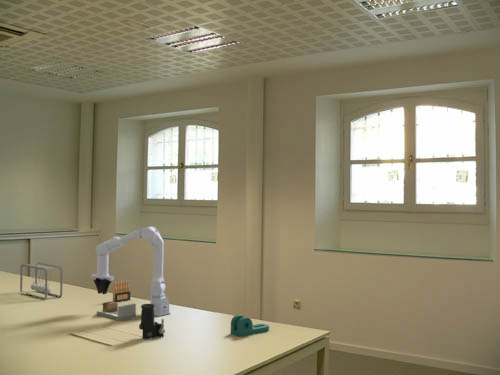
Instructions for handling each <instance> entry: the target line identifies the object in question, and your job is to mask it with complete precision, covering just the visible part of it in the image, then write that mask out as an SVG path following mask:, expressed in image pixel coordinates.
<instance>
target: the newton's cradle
mask: <svg viewBox="0 0 500 375" xmlns="http://www.w3.org/2000/svg"><path fill="white" fill-rule="evenodd" d="M23 267H26V268H31V270H30V271H31V272H33V271H32V270H33V269H34V276H35V279H34V281H32V284H31V285H30V289H31V291H36V292H37V291H39V292H38V293H40V292H43V293H42V294H44V293H45V294H44V297H42V296H39V295H36V294H32V293H26V294H29V295H32V296H35V297H34V298H36V297H38V298H37V299H39V298H41V299H40V300H43V299H46V300H48V299H54V298H55V299H56V298H62V296H63V276H64V275H63V274H64V270H63V268H62V267H61V266H59V265H58V266H57V265H54V264H48V263H42V262H36V263H34V265H33V263H27V264H24V263H22V264H21V265H20V271H19V272H20V281H19V284H20V285H19V286H20V288H19V292H20V293H21V292H23V293H24V292H25V291H23V270H24V269H23ZM48 269H49V270H50V272H52V270H54V269H60V280H59V281H60V289H59V293H60V294H59V295H58V294H56V293H52V288H51V287H50V284H48V282H50V280H51V279H49V281H48V273H49V271H48ZM39 270H40V273H39ZM42 271H43V274H42ZM40 274H42V277H41V278H40ZM44 276H45V277H44ZM51 276H52V273H50V276H49V277H51ZM31 277H32V278H33V274H31ZM44 278H45V280H44ZM40 279H41V280H40ZM40 282H42V284H40ZM44 282H45V283H44ZM48 294H50V295H49V296H51V297H48ZM52 295H53V296H52ZM32 296H31V297H32ZM56 296H57V297H56Z"/></svg>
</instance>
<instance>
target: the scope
mask: <svg viewBox="0 0 500 375" xmlns="http://www.w3.org/2000/svg"><path fill="white" fill-rule="evenodd" d="M140 308H141V312H140V314H141V315H140V324H139V325H138V329H139V330H141V331H142V337H141V338H142V340H151V338H152V339H154V337H155V338H164V336H165V335H164V334H165V332H166V331H165V330H166V329H164V327H165V324H164V323H165V319H164V318H161V323H158V322H157V321H155V315H154V309H153V308H154V304H150V303H144V304H141V305H140ZM161 336H162V337H161Z"/></svg>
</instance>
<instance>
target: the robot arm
mask: <svg viewBox="0 0 500 375" xmlns="http://www.w3.org/2000/svg"><path fill="white" fill-rule="evenodd" d="M136 238H137V239H143V240H145V241H146V242H148V243H150V245H152V247H153V262H152V265H153V266H152V279H151V286H150V287H149V293H150V295H149V296H150V302H149V304H154V308H153V309H154V316H156V317H161V316H165V315H170V314H171V312H170V299H169V298H168V297H166V294H165V291H166V289H167V287H166V284H165V278H164V255H165V254H164V251H165V249H164V248H165V246H164V245H165V242H164V239H163V237H162V235H161V234H160V231H159V230H158V229H157V228H156V227H155V226H148V227H147V226H146V227H143V228H139V229H136V230H134V231H131V232H129V233H128V234H125V235H124V236H121V237H120V236H112V238H111V239H108V240H104V241H103V242H101V243H99V244H97V245H96V247H95V253H96V273H92V274H91V279H93V282H94V284H95V286H96V291H97V294H102V295H106V294H107V293H108V290H109V286H110V285H111V283H112V282H113V281H114V280H115V276H113V275H111V274H109V258H110V257H109V253H111V252H113V251H115V250H118V249H119V248H122V247H123V245H124V244H125V243H127V242H129V241H132V240H135V239H136ZM114 282H115V281H114Z"/></svg>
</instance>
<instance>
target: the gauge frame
mask: <svg viewBox="0 0 500 375" xmlns="http://www.w3.org/2000/svg"><path fill="white" fill-rule="evenodd" d="M136 307H137V304H136V303H128V304H123V305H118V311H113V312H106V311H104V312H103V309H101V310H97V311H96V315H98V316H101V317H105V318H109V319H113V320H116V321H120V322H121V321H127V320H131V319H135V318H137V314H136V313H137V312H136V311H137V308H136Z"/></svg>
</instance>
